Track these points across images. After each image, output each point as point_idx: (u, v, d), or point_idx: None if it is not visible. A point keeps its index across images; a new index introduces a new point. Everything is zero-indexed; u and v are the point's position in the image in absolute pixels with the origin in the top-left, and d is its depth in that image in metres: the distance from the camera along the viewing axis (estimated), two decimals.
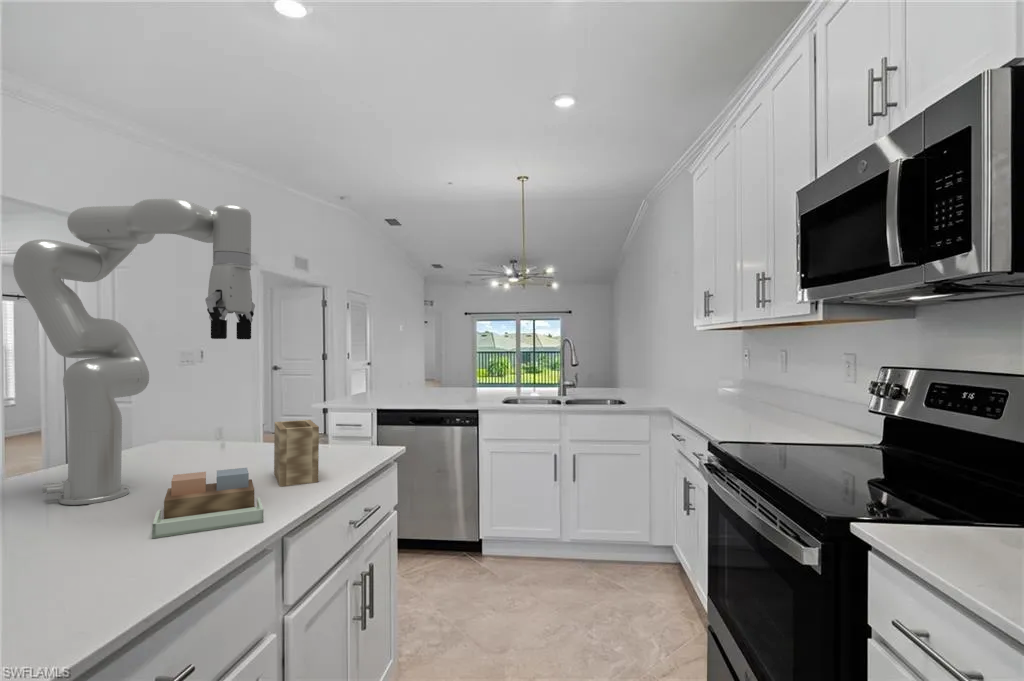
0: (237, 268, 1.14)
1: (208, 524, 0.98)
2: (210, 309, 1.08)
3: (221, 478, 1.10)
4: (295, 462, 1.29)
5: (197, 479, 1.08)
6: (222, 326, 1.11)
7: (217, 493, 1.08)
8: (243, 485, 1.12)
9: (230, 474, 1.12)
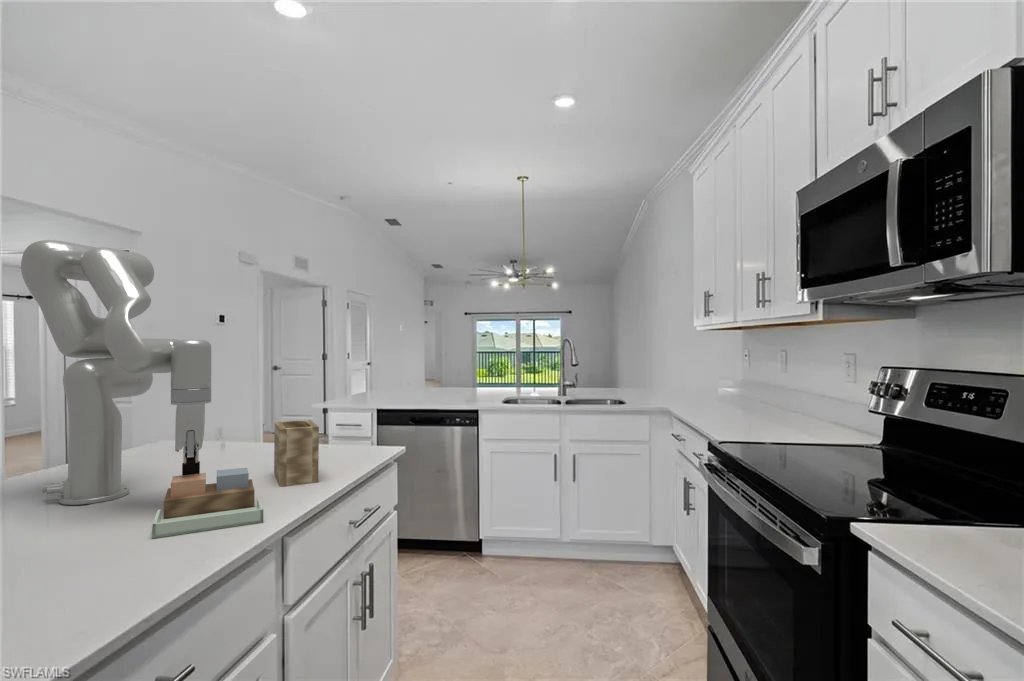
0: (203, 404, 1.12)
1: (208, 524, 0.98)
2: (190, 458, 1.10)
3: (221, 478, 1.10)
4: (295, 462, 1.29)
5: (197, 480, 1.07)
6: (196, 468, 1.13)
7: (217, 493, 1.08)
8: (243, 485, 1.12)
9: (230, 474, 1.12)
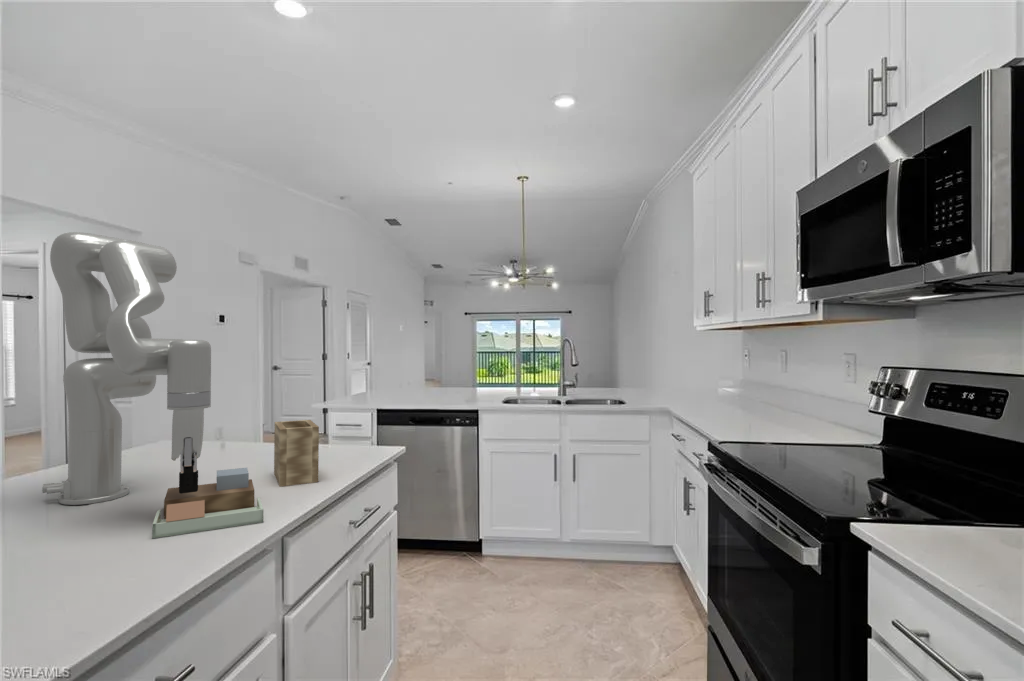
0: (202, 409, 1.05)
1: (208, 524, 0.98)
2: (187, 467, 1.02)
3: (221, 478, 1.10)
4: (295, 462, 1.29)
5: None
6: (194, 478, 1.05)
7: (217, 493, 1.08)
8: (243, 485, 1.12)
9: (230, 474, 1.12)
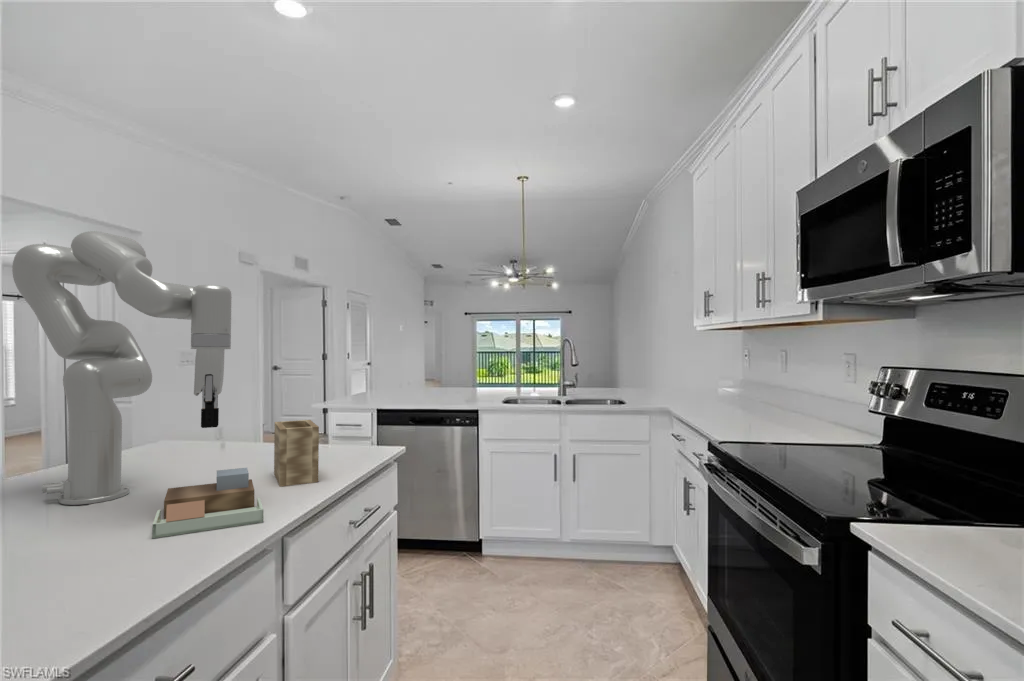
0: (223, 350, 1.12)
1: (208, 524, 0.98)
2: (208, 402, 1.10)
3: (221, 478, 1.10)
4: (295, 462, 1.29)
5: None
6: (215, 414, 1.13)
7: (217, 493, 1.08)
8: (243, 485, 1.12)
9: (230, 474, 1.12)
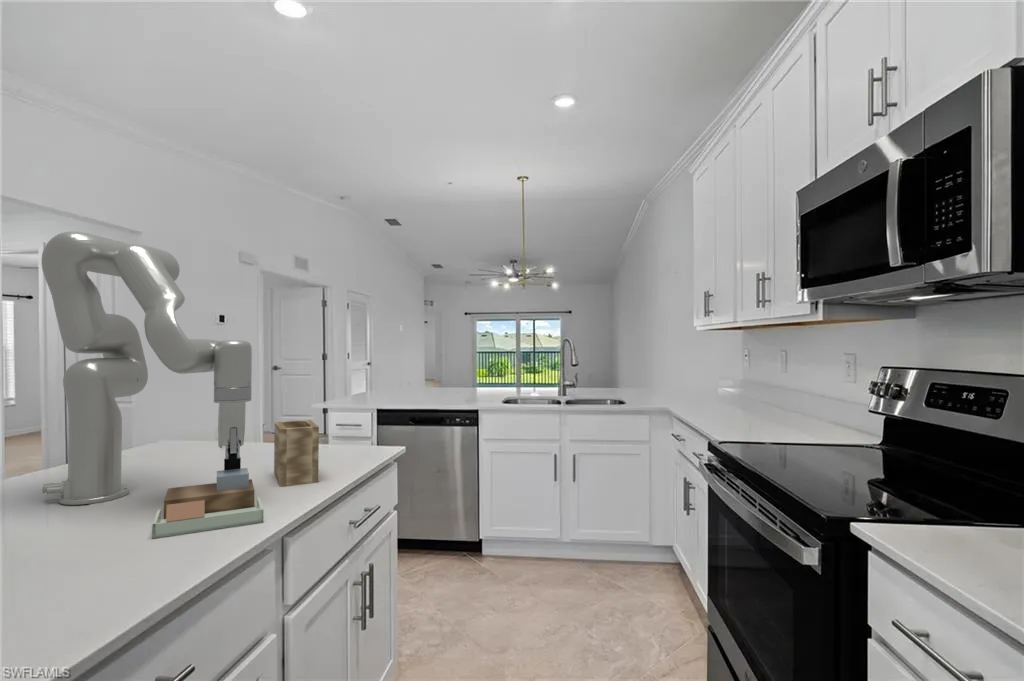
0: (245, 402, 1.17)
1: (208, 524, 0.98)
2: (232, 454, 1.15)
3: (221, 478, 1.10)
4: (295, 462, 1.29)
5: None
6: (237, 464, 1.17)
7: (217, 493, 1.08)
8: (243, 486, 1.12)
9: (230, 475, 1.11)
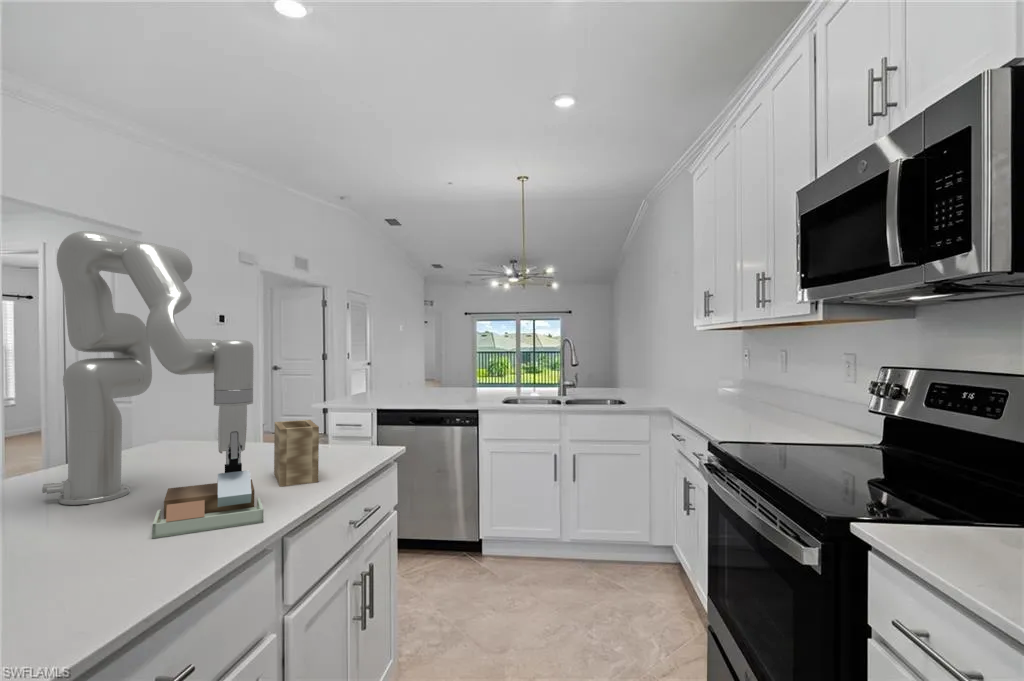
0: (246, 405, 1.12)
1: (208, 524, 0.98)
2: (233, 459, 1.09)
3: (222, 498, 1.04)
4: (295, 462, 1.29)
5: None
6: (238, 470, 1.12)
7: (217, 493, 1.08)
8: (245, 501, 1.07)
9: (232, 492, 1.05)
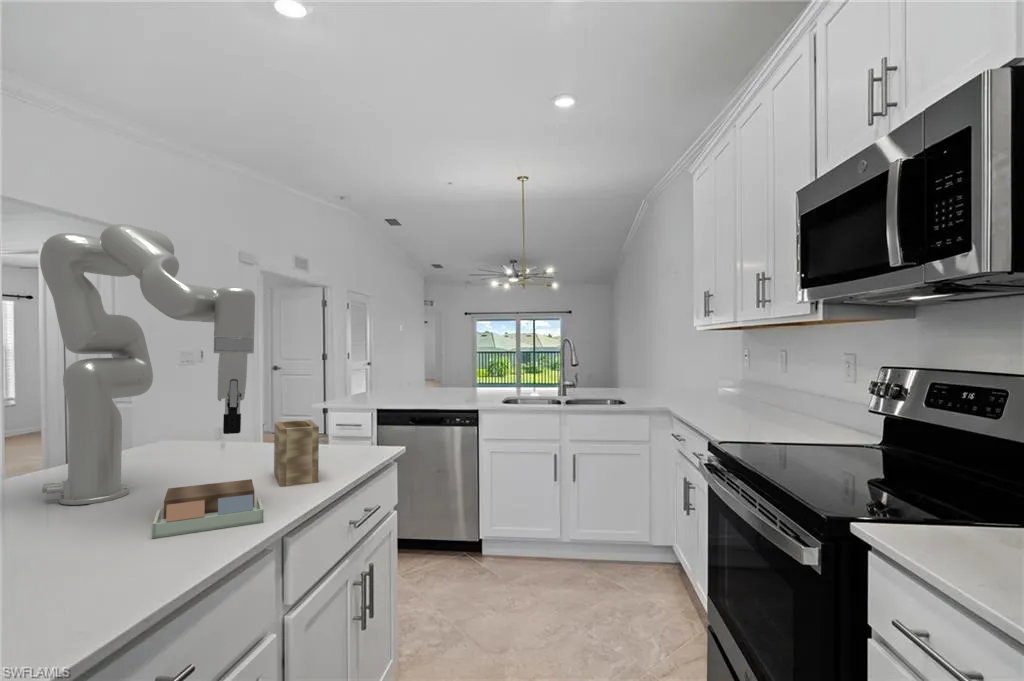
0: (246, 354, 1.10)
1: (208, 524, 0.98)
2: (232, 408, 1.07)
3: None
4: (295, 462, 1.29)
5: None
6: (237, 420, 1.10)
7: (217, 493, 1.08)
8: None
9: None
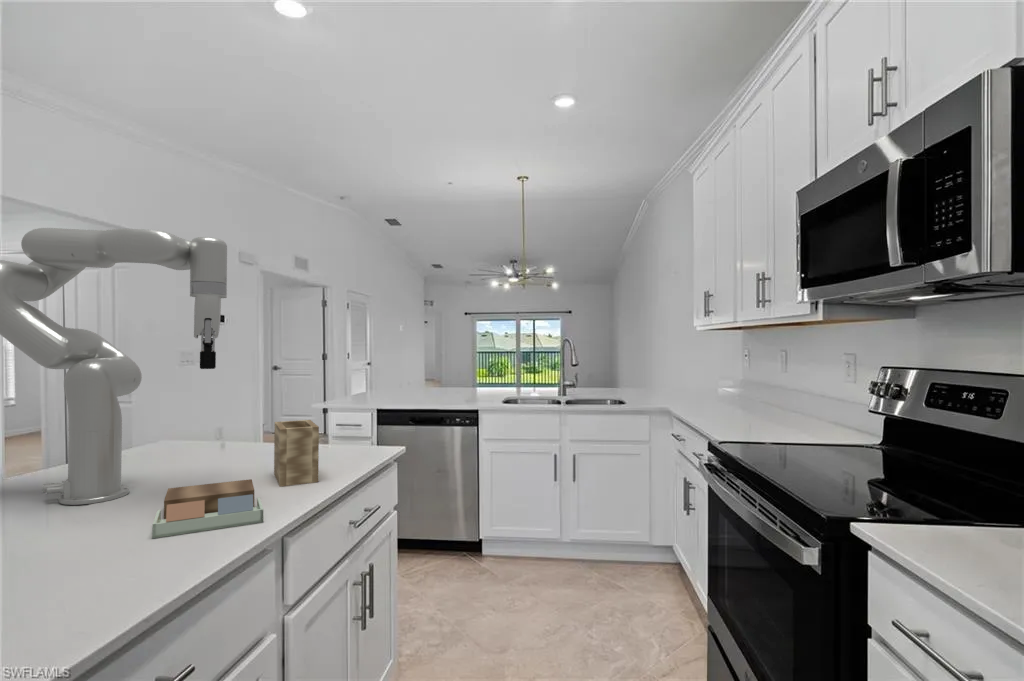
0: (220, 297, 1.22)
1: (208, 524, 0.98)
2: (207, 345, 1.20)
3: None
4: (295, 462, 1.29)
5: None
6: (213, 357, 1.23)
7: (217, 493, 1.08)
8: None
9: None
